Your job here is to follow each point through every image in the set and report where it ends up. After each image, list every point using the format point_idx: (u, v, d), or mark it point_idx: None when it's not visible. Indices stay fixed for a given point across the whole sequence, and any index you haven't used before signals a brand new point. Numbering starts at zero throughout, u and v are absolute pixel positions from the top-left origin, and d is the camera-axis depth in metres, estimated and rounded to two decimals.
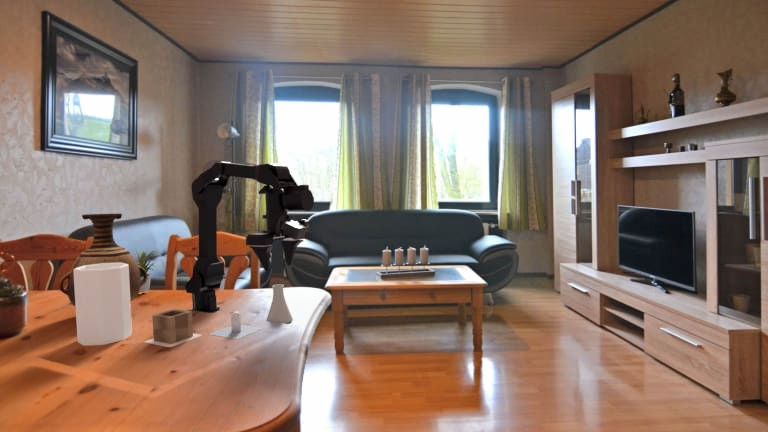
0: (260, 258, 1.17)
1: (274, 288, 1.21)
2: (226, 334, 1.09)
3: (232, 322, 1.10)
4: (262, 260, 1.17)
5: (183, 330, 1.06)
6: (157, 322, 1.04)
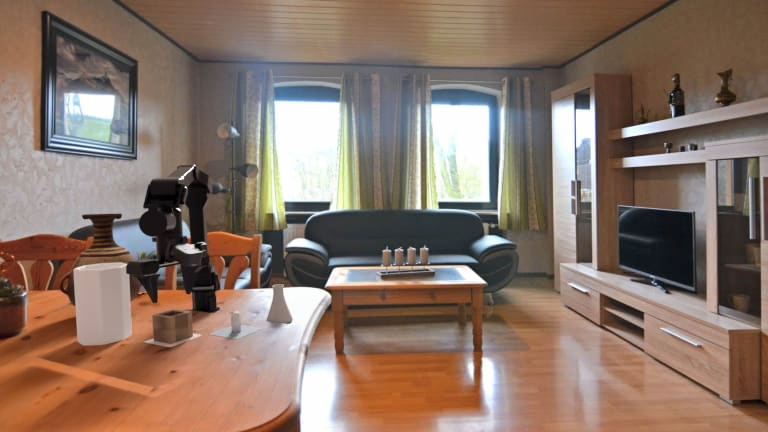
0: (146, 288, 1.01)
1: (274, 288, 1.21)
2: (226, 334, 1.09)
3: (232, 322, 1.10)
4: (148, 290, 1.01)
5: (183, 330, 1.06)
6: (157, 322, 1.04)
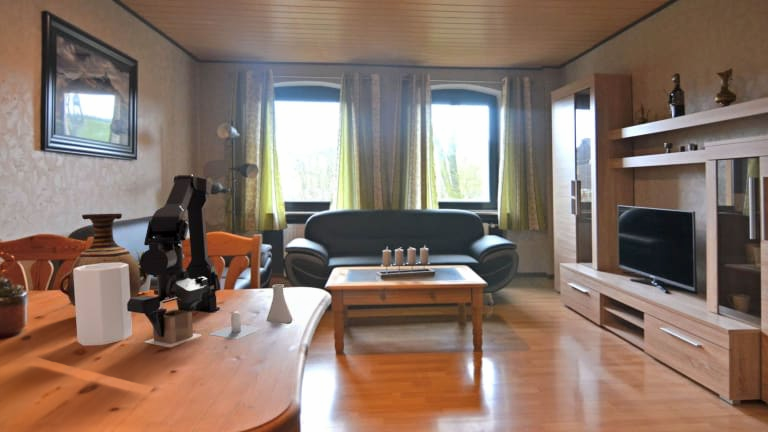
0: (152, 322, 1.03)
1: (274, 288, 1.21)
2: (226, 334, 1.09)
3: (232, 322, 1.10)
4: (155, 325, 1.03)
5: (183, 330, 1.06)
6: None
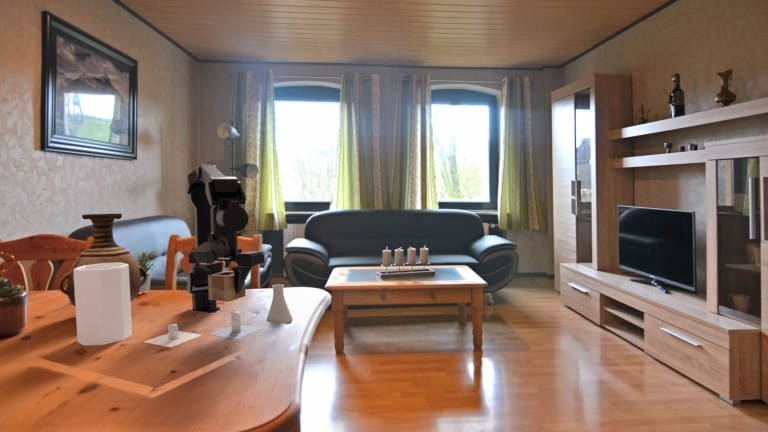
0: None
1: (274, 288, 1.21)
2: (226, 334, 1.09)
3: (232, 322, 1.10)
4: None
5: (219, 291, 1.07)
6: None
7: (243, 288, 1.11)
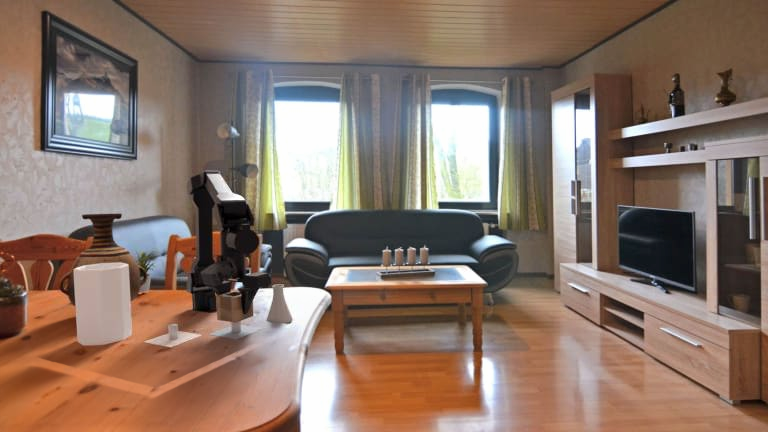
0: None
1: (274, 288, 1.21)
2: (226, 334, 1.09)
3: (232, 322, 1.10)
4: None
5: (227, 312, 1.08)
6: None
7: (251, 308, 1.12)
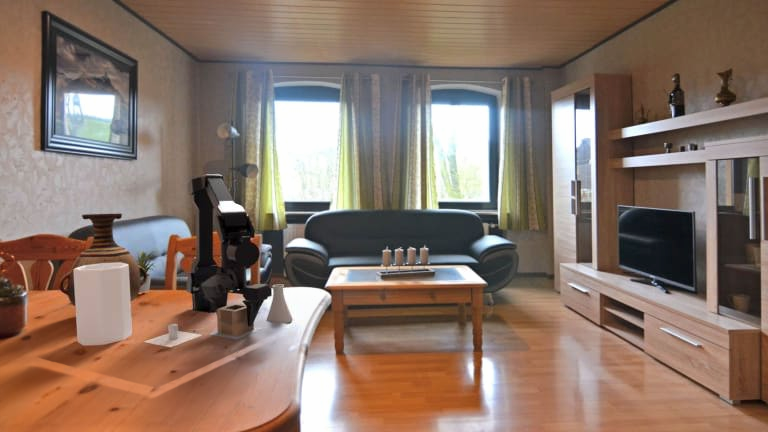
0: None
1: (274, 288, 1.21)
2: None
3: None
4: None
5: (227, 326, 1.08)
6: None
7: None
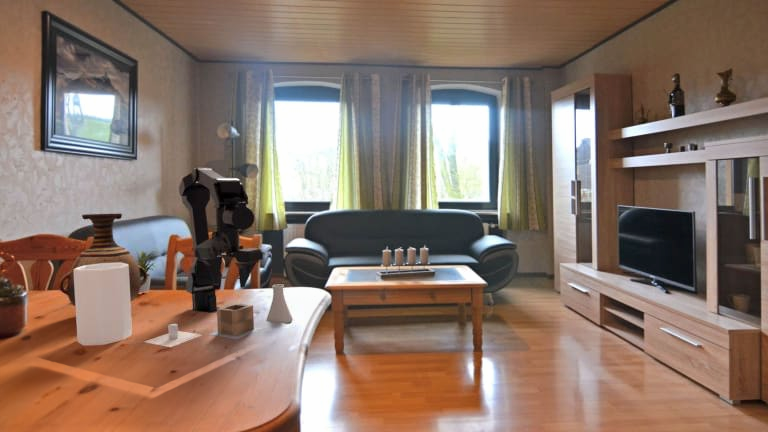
0: None
1: (274, 288, 1.21)
2: None
3: None
4: None
5: (227, 326, 1.08)
6: None
7: (251, 321, 1.12)
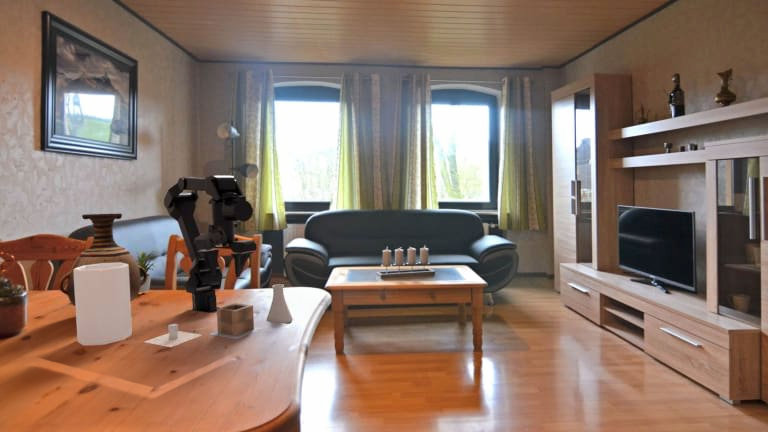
0: None
1: (274, 288, 1.21)
2: None
3: None
4: None
5: (227, 326, 1.08)
6: None
7: (251, 321, 1.12)
